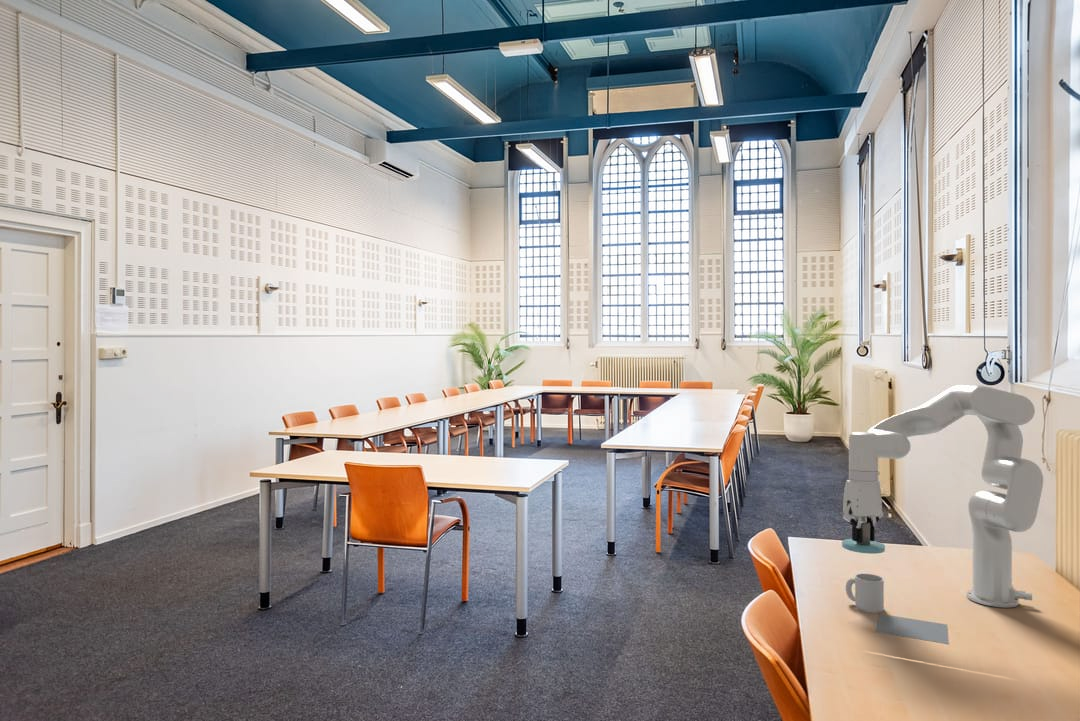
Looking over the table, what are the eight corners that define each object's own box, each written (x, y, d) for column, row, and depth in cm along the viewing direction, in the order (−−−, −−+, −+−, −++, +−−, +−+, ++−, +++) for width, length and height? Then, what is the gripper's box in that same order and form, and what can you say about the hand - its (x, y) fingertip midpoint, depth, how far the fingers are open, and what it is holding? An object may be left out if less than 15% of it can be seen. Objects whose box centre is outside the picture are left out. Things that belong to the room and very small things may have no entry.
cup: (879, 616, 186) (879, 583, 186) (841, 607, 193) (841, 575, 193) (887, 608, 191) (886, 577, 191) (850, 600, 198) (849, 569, 198)
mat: (947, 626, 179) (947, 624, 179) (948, 645, 166) (948, 644, 166) (879, 615, 187) (879, 613, 187) (876, 633, 174) (876, 631, 174)
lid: (885, 546, 194) (885, 520, 194) (884, 555, 184) (884, 529, 184) (843, 540, 199) (843, 516, 199) (840, 550, 190) (840, 524, 190)
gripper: (876, 472, 198) (875, 535, 198) (829, 475, 193) (829, 539, 193) (897, 476, 191) (896, 541, 191) (849, 479, 186) (849, 546, 186)
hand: (863, 540), depth 192 cm, fingers closed on lid, 3 cm apart
